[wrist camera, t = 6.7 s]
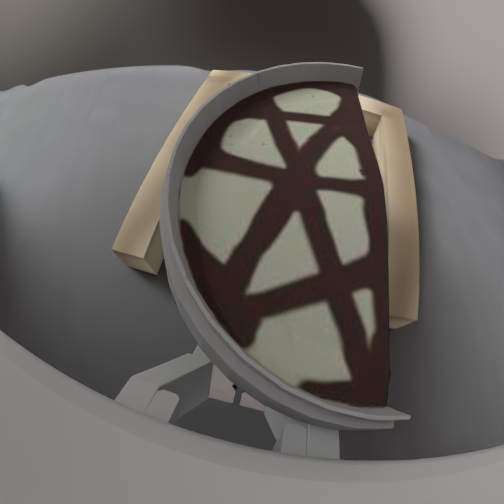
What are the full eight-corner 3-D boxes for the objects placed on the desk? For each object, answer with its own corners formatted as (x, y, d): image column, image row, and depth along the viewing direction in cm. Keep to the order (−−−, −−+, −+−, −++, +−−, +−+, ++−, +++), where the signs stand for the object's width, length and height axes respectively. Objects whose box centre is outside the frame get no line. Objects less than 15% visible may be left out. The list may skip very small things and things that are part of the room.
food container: (223, 189, 18) (206, 46, 9) (318, 199, 18) (360, 61, 9) (188, 391, 13) (80, 407, 4) (308, 405, 13) (407, 445, 4)
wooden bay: (128, 266, 16) (111, 249, 14) (215, 92, 23) (213, 69, 20) (395, 328, 15) (417, 320, 12) (391, 129, 21) (401, 109, 19)
